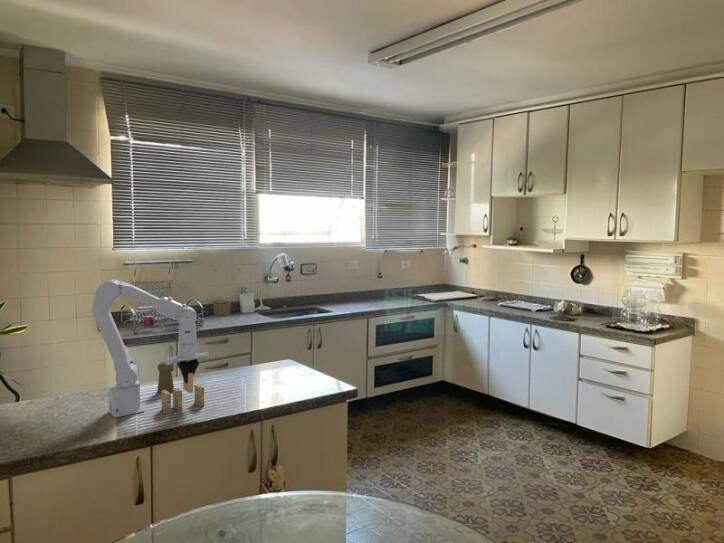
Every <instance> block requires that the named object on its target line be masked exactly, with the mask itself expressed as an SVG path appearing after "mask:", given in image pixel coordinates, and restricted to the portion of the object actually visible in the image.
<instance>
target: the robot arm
mask: <svg viewBox="0 0 724 543" xmlns="http://www.w3.org/2000/svg"><path fill="white" fill-rule="evenodd" d="M119 297H120V300H123V299H134V300H137V301H138V302H141V303H144V304H147V305H148V306H151V307H154V309H155V311H156V313H158V314H160V315H163V316H164V317H166V318H168V319H170V320H174V321H178V323H179V325H178V326H179V329H178V354H177V355H174V356H171V357H165V362H166V364H167V365H171V364H172V365H173V364H176V365H177V366H178V369H179V370H180V372H181V375H182V380H183V379H184V382H185V383H187V382H188V371H190V372H191V373H193V378H194V376H195V374H196V371H197V368H199V365H200V360H209V359H210V353H209V352H208V351H207V352H197V344H198V343H197V323H196V322H197V319H198V318H197V312H196V310H195V309H194V308H193V307H192V306H190V305H186V303H182V304H181V303H180V302H177V301H175V300H174V299H173V297H171V296H168V297H166V296H163V297H160V298H159V297H157V296H155V295H153V294H151V293H149V292H147V291H145V290H143V289H141V288H139V287H137V286H134V285H133V284H130V283H128V282H127V281H126V282H125V281H120V280H119V279H118V278H109V279H107V280H105V281H104V282H102V283H101V284H100V285H99V287H98V288H97V290H96V291H95V293H94V300H93V303H92V308H91V312H92V315H93V317H94V320H95V322H96V324H97V327H98V329H99V331H100V334H101V336H102V338H103V341H104V343H105V345H106V347H107V350H108V352H109V354H110V357H111V359H112V361H113V369H114V371H115V382H116V384H115V386H112V387H109V388H108V391H107V392H108V393H107V394H108V395H107V397H108V399H107V400H108V402H107V403H108V405H107V406H108V409H107V411H108V413H109V414H110V415H111V416H112V417H113V418H119V417H123V416H130V415H133V414H134V415H135V414H140V413H144V412H145V409H144V408H142V407H141V383H140V381H139V380H138V376H139V374H140V367H139V366H138V364H137V363H135V362H134V361H133V359H132V357H131V355H130V354H129V353H128V349H127V348H126V345H125V343H124V342H123V338H122V336H121V333H120V332H119V329H118V327H117V325H116V322H115V320H114V318H113V315H112V313H111V309H112V307H113V305H114V303H115V301H116V300H117V299H118V298H119Z"/></svg>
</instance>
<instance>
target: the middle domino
mask: <svg viewBox="0 0 724 543" xmlns="http://www.w3.org/2000/svg"><path fill="white" fill-rule="evenodd" d="M173 407H174V408H173ZM172 408H173V409H175V411H177V410H178V411H177V412H181V410H182V411H183V391H182V390H181V389H179V388H177V387H174V388H173V393H172Z"/></svg>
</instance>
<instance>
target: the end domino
mask: <svg viewBox="0 0 724 543" xmlns="http://www.w3.org/2000/svg"><path fill="white" fill-rule="evenodd" d="M193 388H194V404H195V403H196V404H195V405H197V404H198V405H199V406H198V405H197V406H198V407H200V406H202V407H205V387H204V386H203V385H201V384H199V383H196V384H193Z"/></svg>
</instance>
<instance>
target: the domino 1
mask: <svg viewBox="0 0 724 543" xmlns="http://www.w3.org/2000/svg"><path fill="white" fill-rule="evenodd" d="M160 395H161V410H162V411H163V412H164V413H165V414H167V413H168V414H171V413H172V398H171V396H172V393H169V392H168V391H166V390H162V391H161V394H160Z"/></svg>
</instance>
